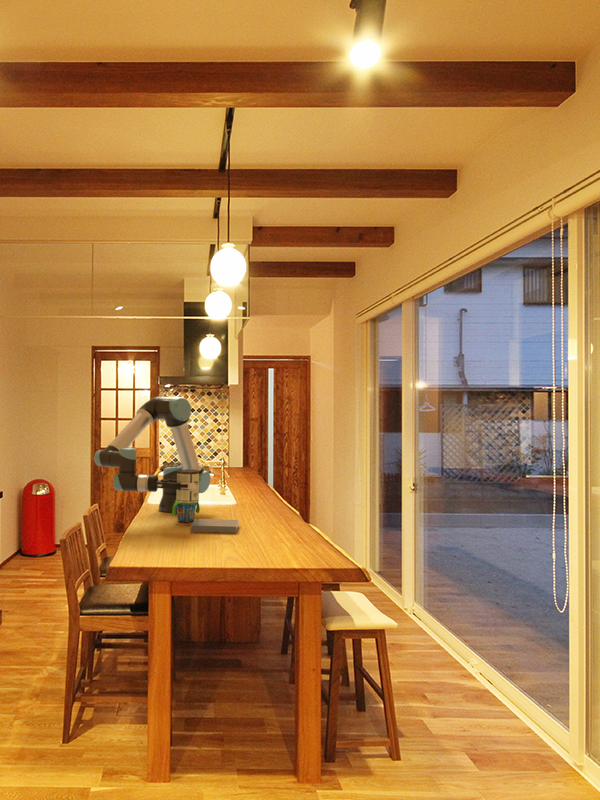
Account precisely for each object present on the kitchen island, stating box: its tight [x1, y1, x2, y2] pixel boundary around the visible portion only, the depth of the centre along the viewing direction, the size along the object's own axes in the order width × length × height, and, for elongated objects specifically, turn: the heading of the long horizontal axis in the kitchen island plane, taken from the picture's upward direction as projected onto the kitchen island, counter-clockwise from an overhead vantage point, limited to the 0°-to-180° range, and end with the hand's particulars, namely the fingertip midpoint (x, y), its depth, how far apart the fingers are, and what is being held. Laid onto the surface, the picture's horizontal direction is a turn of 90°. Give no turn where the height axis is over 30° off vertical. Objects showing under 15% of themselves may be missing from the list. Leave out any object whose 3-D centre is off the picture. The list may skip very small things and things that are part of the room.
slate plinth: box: [190, 518, 240, 534], centre depth 303 cm, size 18×20×3 cm
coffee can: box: [176, 470, 200, 503], centre depth 303 cm, size 10×10×14 cm
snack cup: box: [171, 500, 201, 523], centre depth 321 cm, size 16×10×10 cm
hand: (197, 484), depth 303 cm, fingers closed on coffee can, 10 cm apart
